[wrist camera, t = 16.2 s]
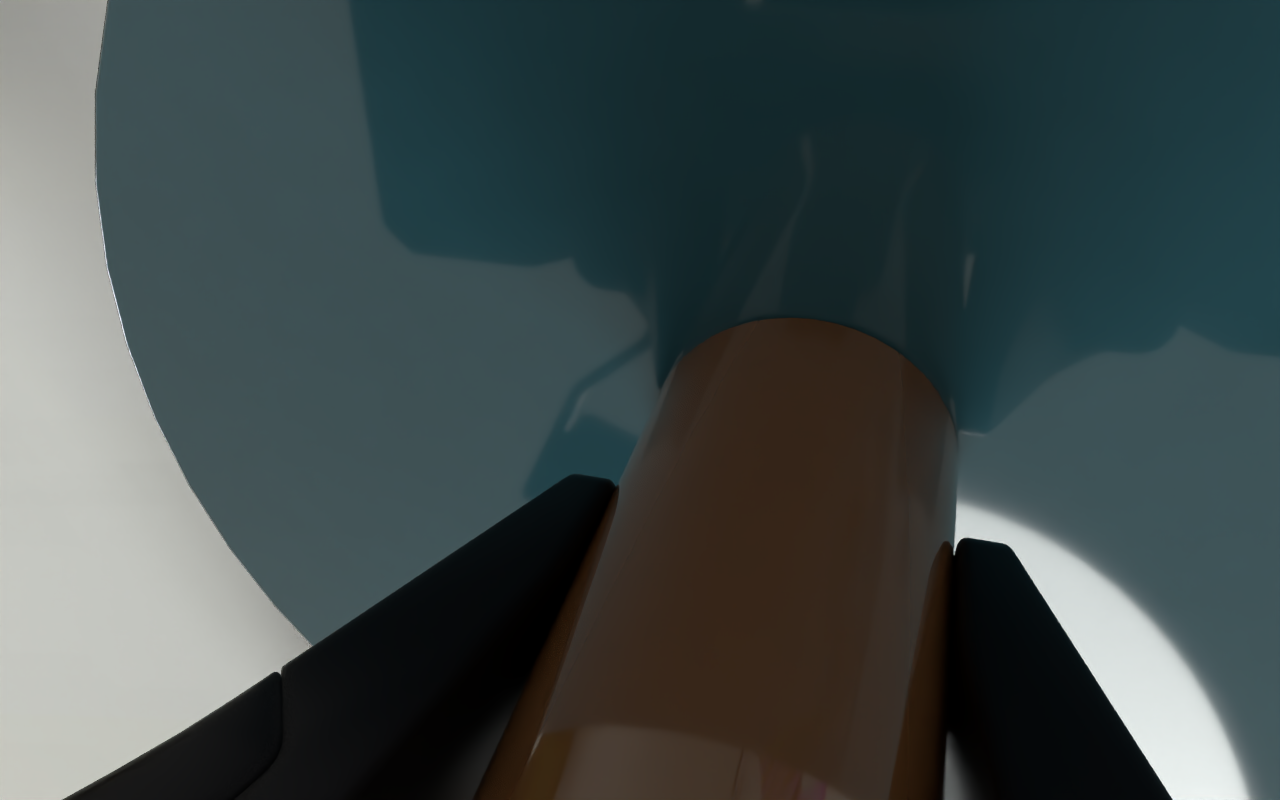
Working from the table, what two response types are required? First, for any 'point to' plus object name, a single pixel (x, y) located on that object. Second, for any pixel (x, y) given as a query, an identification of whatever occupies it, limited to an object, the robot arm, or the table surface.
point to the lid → (732, 349)
